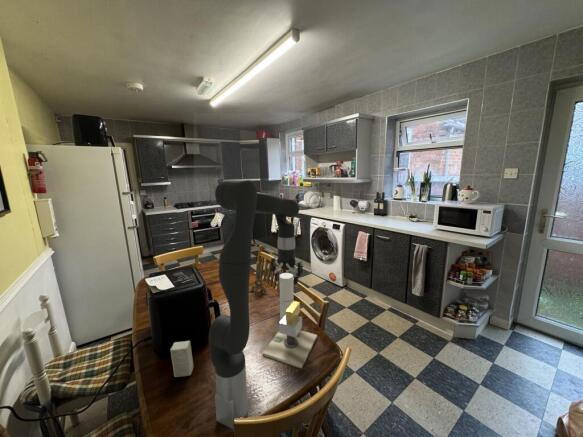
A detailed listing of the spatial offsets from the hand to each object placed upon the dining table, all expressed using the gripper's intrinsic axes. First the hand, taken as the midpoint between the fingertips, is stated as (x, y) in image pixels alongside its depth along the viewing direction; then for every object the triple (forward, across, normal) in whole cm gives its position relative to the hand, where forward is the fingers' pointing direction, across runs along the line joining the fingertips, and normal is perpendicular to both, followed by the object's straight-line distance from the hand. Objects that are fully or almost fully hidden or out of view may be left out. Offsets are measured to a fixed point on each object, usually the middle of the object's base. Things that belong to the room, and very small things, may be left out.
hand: (286, 282), depth 103 cm
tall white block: (+29, -7, +17) cm, 35 cm away
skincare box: (+31, -31, -30) cm, 53 cm away
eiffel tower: (+29, -37, +37) cm, 60 cm away
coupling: (+22, +2, +1) cm, 22 cm away
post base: (+30, +2, 0) cm, 30 cm away
